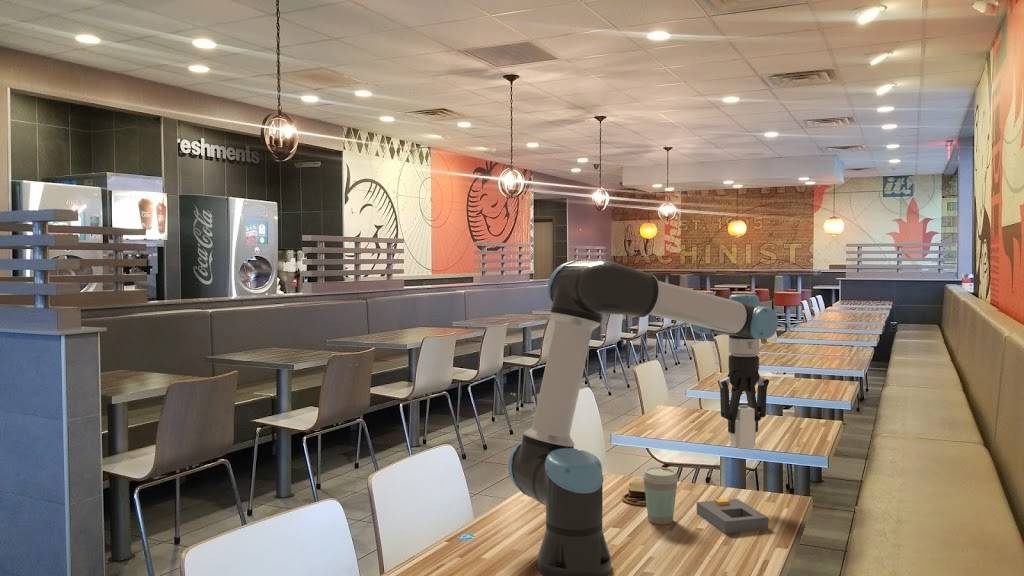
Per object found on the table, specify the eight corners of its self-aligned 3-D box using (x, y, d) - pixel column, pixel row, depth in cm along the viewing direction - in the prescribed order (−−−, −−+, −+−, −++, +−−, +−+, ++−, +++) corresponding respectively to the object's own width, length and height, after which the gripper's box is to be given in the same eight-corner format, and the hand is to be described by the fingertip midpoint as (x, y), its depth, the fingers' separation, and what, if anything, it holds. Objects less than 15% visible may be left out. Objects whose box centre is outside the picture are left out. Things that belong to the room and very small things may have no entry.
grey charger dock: (725, 534, 169) (725, 518, 169) (696, 514, 183) (696, 498, 183) (768, 530, 172) (768, 514, 172) (737, 510, 186) (737, 495, 185)
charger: (739, 448, 188) (740, 407, 188) (731, 444, 192) (732, 404, 192) (754, 447, 189) (754, 406, 189) (745, 444, 193) (746, 403, 193)
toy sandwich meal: (618, 504, 191) (618, 491, 191) (627, 493, 201) (627, 480, 201) (654, 509, 188) (654, 495, 188) (661, 497, 197) (661, 483, 197)
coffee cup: (678, 527, 174) (679, 477, 173) (641, 525, 176) (641, 475, 175) (678, 515, 182) (678, 467, 182) (642, 513, 184) (642, 465, 183)
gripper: (720, 357, 184) (719, 450, 185) (782, 355, 188) (781, 446, 189) (706, 353, 192) (705, 443, 193) (765, 352, 195) (764, 440, 196)
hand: (742, 445), depth 191 cm, fingers closed on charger, 4 cm apart
